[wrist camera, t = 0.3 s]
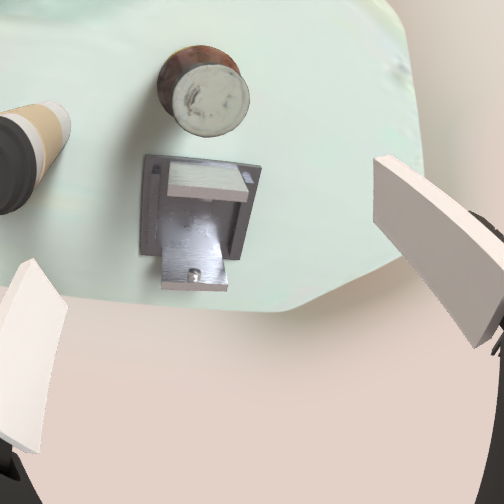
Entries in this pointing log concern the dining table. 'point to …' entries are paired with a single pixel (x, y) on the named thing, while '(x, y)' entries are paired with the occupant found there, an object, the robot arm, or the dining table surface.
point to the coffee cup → (29, 149)
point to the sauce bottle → (203, 91)
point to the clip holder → (195, 217)
